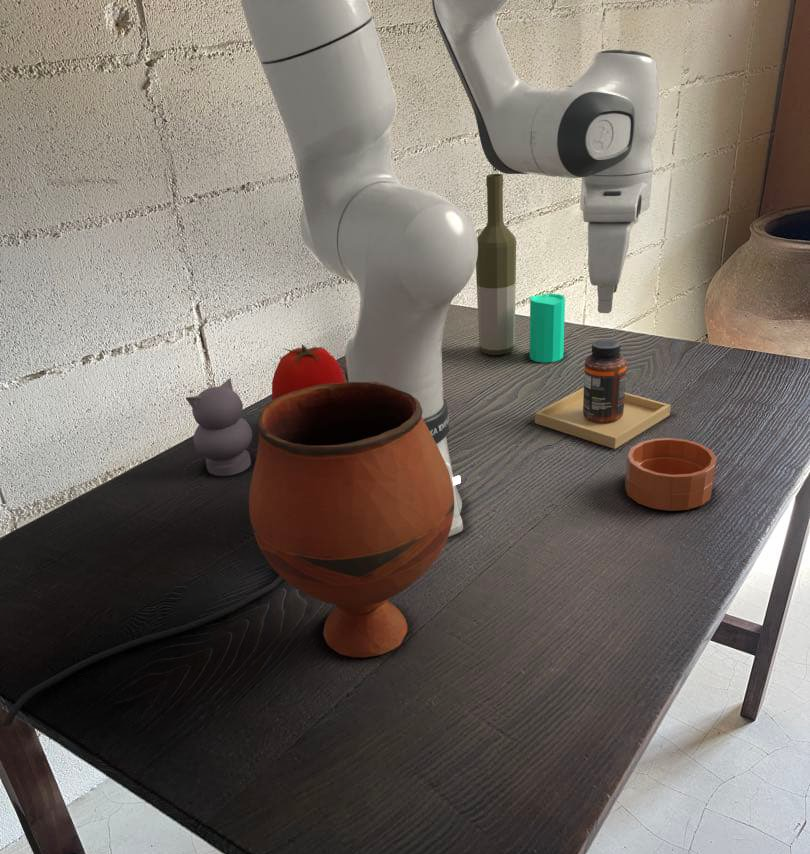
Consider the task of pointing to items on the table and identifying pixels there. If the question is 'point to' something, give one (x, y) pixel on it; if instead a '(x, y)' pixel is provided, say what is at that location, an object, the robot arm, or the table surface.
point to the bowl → (670, 474)
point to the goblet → (350, 504)
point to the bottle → (496, 276)
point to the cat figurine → (221, 430)
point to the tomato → (305, 370)
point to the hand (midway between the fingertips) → (607, 301)
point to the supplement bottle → (604, 382)
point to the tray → (611, 434)
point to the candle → (547, 327)
